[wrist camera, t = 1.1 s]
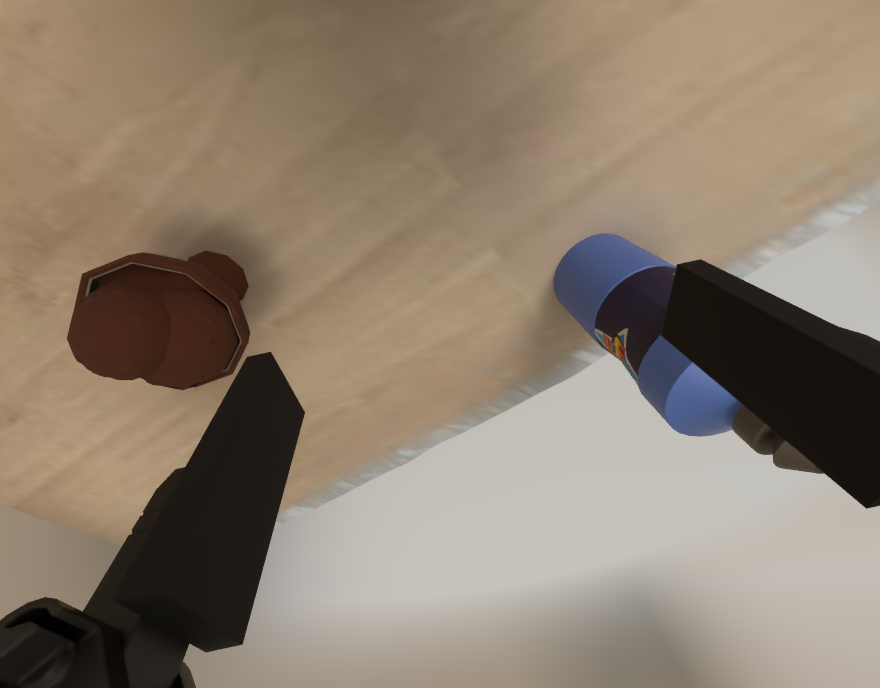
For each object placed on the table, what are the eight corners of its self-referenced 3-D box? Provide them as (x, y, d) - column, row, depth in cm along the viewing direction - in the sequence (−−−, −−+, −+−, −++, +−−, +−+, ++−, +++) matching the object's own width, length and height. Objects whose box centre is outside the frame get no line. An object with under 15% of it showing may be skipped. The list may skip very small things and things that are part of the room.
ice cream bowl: (138, 297, 34) (-6, 404, 21) (171, 194, 30) (13, 253, 17) (252, 344, 38) (186, 457, 26) (294, 260, 34) (241, 346, 21)
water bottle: (616, 212, 35) (946, 355, 14) (647, 278, 40) (932, 458, 19) (537, 272, 38) (722, 467, 17) (575, 327, 42) (757, 534, 21)
